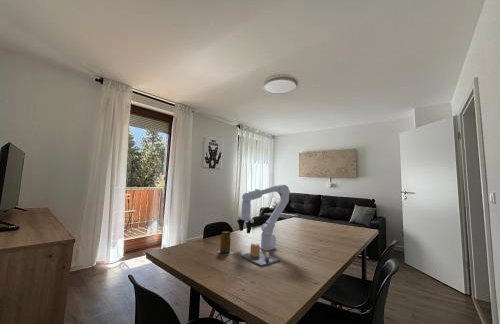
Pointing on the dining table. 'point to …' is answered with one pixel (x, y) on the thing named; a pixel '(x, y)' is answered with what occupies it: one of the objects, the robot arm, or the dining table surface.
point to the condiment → (225, 243)
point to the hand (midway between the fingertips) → (244, 232)
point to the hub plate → (260, 259)
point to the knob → (255, 250)
